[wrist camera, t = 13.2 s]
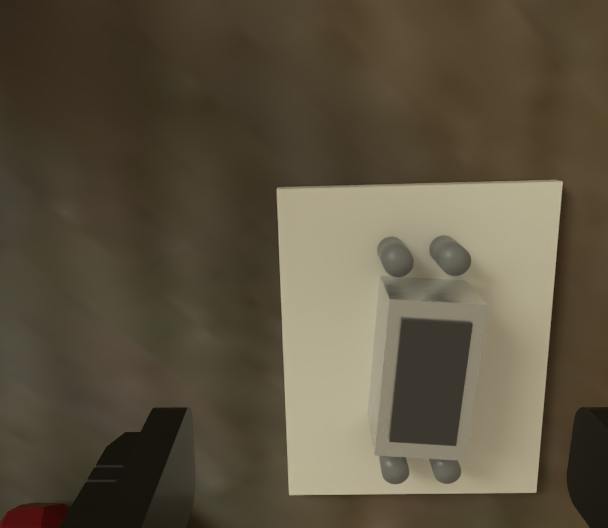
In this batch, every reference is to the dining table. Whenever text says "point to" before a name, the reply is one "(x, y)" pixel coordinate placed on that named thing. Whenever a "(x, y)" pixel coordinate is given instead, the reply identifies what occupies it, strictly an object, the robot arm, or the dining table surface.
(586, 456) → the robot arm
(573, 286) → the dining table surface
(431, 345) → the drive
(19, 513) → the heart
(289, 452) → the pin tray
